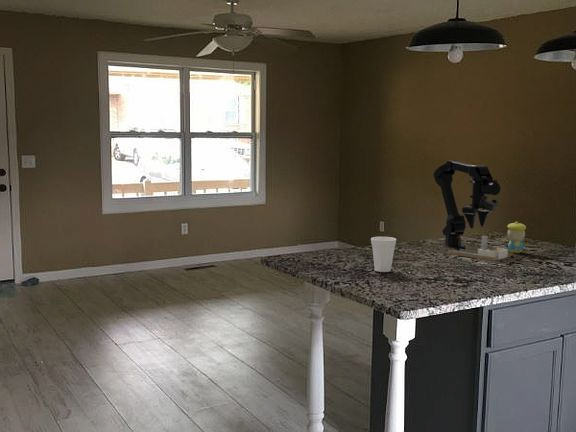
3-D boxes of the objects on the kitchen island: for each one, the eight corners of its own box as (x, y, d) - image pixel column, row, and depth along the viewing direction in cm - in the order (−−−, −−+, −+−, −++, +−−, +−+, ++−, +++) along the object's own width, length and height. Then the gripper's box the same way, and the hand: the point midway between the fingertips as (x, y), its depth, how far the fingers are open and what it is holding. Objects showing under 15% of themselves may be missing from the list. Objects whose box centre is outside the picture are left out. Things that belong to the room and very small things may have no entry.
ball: (498, 252, 271) (494, 259, 272) (502, 251, 273) (498, 258, 275) (491, 248, 273) (487, 254, 274) (495, 247, 275) (491, 253, 277)
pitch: (447, 255, 281) (447, 250, 281) (466, 250, 293) (466, 246, 292) (493, 262, 266) (493, 257, 266) (511, 257, 277) (511, 252, 277)
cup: (365, 269, 251) (366, 237, 249) (386, 267, 255) (387, 235, 253) (378, 274, 242) (379, 241, 240) (400, 272, 245) (401, 239, 244)
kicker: (477, 254, 278) (478, 236, 277) (481, 253, 280) (482, 235, 279) (485, 256, 275) (486, 237, 274) (490, 255, 277) (490, 236, 276)
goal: (486, 258, 271) (486, 250, 271) (497, 255, 278) (497, 247, 278) (496, 260, 268) (497, 252, 267) (507, 257, 275) (508, 249, 274)
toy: (521, 252, 290) (523, 220, 288) (526, 256, 281) (528, 223, 279) (503, 251, 291) (505, 219, 289) (508, 255, 282) (510, 222, 280)
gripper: (484, 196, 271) (483, 231, 273) (505, 193, 284) (503, 227, 286) (461, 194, 279) (460, 228, 281) (482, 191, 292) (481, 224, 294)
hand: (477, 227), depth 285 cm, fingers open, 9 cm apart
